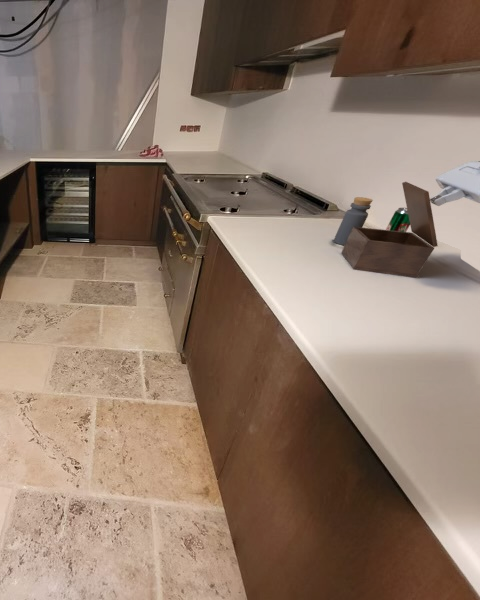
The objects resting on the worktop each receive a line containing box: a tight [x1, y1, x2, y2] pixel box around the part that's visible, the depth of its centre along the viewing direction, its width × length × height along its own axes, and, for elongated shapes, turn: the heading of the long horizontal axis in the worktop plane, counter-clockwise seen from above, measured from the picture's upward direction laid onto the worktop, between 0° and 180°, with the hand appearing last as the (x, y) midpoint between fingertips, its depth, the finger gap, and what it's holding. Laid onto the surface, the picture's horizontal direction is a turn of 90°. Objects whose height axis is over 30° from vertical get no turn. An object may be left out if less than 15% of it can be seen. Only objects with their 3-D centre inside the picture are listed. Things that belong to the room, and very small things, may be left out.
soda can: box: [385, 207, 411, 232], centre depth 106 cm, size 5×5×12 cm
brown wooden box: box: [341, 227, 435, 279], centre depth 94 cm, size 15×13×9 cm
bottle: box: [333, 196, 374, 246], centre depth 107 cm, size 6×6×15 cm
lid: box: [401, 181, 439, 248], centre depth 87 cm, size 15×13×1 cm
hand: (433, 202), depth 85 cm, fingers closed
